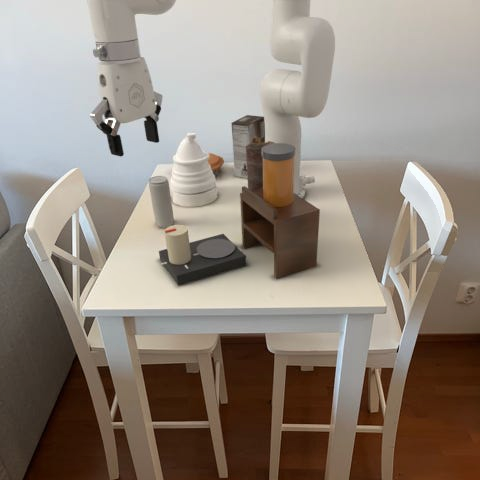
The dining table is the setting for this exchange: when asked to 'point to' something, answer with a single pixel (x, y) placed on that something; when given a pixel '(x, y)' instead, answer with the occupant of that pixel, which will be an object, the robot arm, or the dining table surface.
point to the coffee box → (246, 140)
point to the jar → (278, 174)
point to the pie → (215, 163)
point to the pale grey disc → (216, 248)
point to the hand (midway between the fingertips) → (135, 148)
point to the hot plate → (202, 263)
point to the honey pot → (192, 175)
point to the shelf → (281, 230)
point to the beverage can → (161, 201)
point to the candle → (255, 164)
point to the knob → (178, 244)
